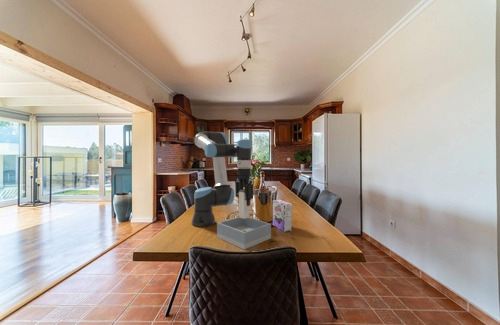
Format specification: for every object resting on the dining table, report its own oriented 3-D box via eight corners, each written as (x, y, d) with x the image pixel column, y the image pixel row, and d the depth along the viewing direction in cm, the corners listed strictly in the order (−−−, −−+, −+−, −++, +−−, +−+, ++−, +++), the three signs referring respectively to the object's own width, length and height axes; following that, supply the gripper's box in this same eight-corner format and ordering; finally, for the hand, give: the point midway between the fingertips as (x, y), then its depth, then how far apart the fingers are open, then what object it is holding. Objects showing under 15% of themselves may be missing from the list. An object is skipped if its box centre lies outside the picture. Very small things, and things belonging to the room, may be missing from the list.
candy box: (272, 225, 140) (272, 200, 139) (280, 224, 142) (280, 199, 141) (283, 232, 127) (283, 204, 126) (292, 230, 129) (292, 203, 129)
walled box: (217, 237, 119) (217, 222, 119) (243, 228, 133) (243, 215, 133) (244, 249, 103) (244, 233, 103) (270, 238, 117) (271, 223, 117)
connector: (238, 217, 117) (238, 189, 117) (244, 215, 120) (244, 188, 120) (243, 218, 115) (243, 190, 114) (249, 217, 117) (249, 189, 117)
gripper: (228, 167, 120) (228, 209, 121) (250, 168, 108) (250, 215, 109) (238, 167, 125) (238, 207, 126) (260, 168, 113) (260, 212, 114)
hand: (244, 210), depth 117 cm, fingers closed on connector, 4 cm apart
